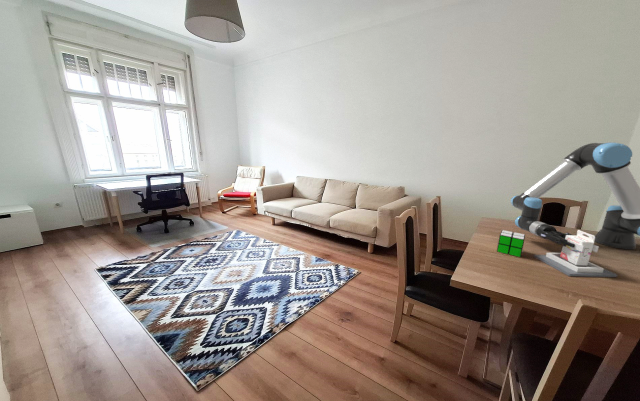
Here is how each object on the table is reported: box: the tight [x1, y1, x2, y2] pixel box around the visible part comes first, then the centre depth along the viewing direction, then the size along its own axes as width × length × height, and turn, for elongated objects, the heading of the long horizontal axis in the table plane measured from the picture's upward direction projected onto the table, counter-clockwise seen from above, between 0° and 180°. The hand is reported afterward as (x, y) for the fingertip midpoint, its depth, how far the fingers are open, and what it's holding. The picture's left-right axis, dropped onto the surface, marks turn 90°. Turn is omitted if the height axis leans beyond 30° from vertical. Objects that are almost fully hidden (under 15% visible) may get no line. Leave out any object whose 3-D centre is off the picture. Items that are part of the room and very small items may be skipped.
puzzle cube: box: [496, 229, 526, 258], centre depth 123 cm, size 10×10×10 cm
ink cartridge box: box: [560, 229, 595, 266], centre depth 107 cm, size 9×5×15 cm, turn 174°
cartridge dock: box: [533, 252, 618, 278], centre depth 109 cm, size 20×18×3 cm
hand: (590, 249), depth 101 cm, fingers closed on ink cartridge box, 5 cm apart
